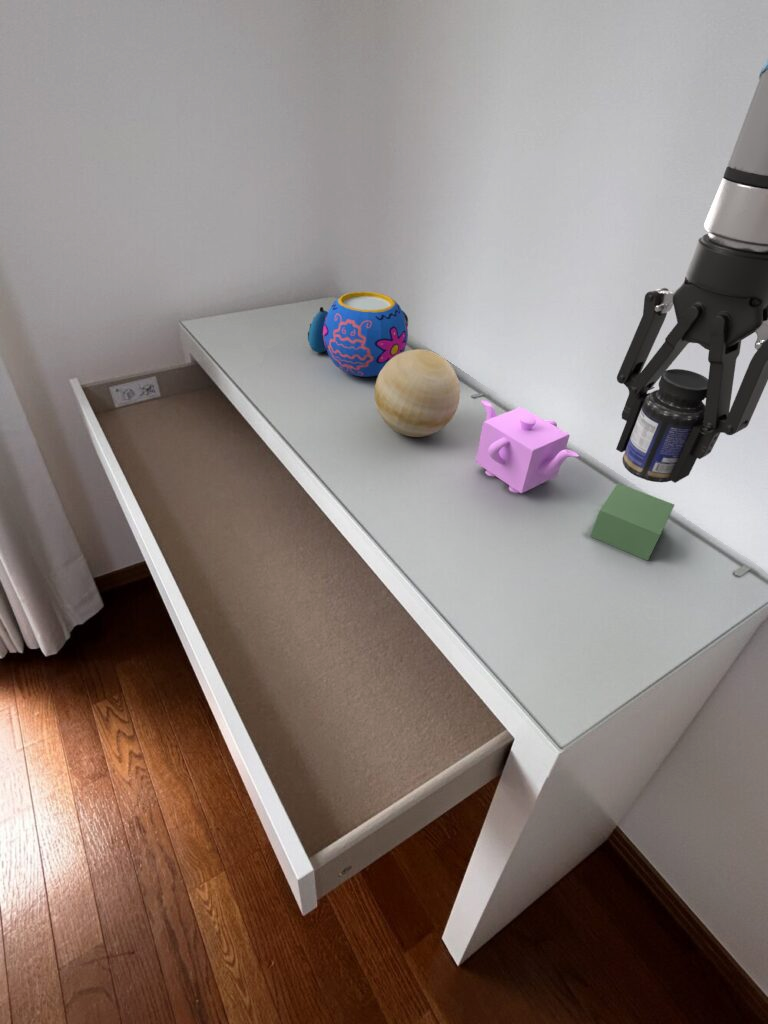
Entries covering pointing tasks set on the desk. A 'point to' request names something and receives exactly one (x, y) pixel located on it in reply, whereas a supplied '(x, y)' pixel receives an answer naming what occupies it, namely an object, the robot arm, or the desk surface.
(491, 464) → the teapot
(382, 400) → the decorative ball
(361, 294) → the ceramic pot
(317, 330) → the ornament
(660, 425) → the pill bottle
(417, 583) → the desk surface
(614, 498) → the block
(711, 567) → the desk surface
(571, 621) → the desk surface
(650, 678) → the desk surface
